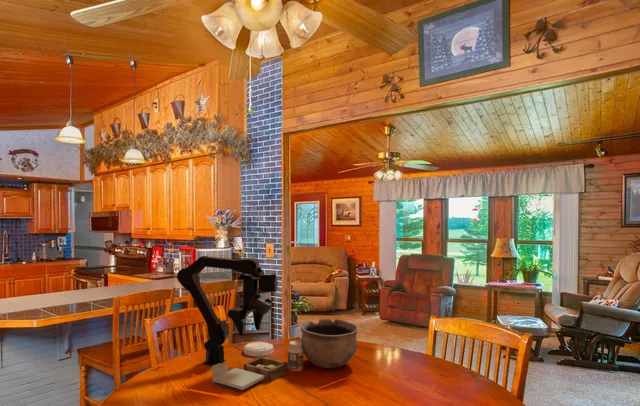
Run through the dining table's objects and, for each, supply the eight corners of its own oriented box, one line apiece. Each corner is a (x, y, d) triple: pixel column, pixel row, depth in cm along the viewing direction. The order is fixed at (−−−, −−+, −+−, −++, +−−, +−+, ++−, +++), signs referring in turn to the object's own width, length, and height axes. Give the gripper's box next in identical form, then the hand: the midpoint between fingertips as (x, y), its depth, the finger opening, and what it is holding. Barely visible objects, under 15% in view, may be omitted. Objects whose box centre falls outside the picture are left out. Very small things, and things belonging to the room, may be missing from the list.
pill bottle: (301, 373, 152) (301, 345, 152) (285, 371, 153) (286, 344, 153) (304, 367, 157) (305, 341, 158) (289, 366, 158) (290, 339, 159)
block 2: (265, 373, 150) (265, 366, 150) (272, 371, 152) (272, 364, 152) (270, 375, 147) (270, 368, 148) (277, 373, 150) (277, 366, 150)
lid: (203, 382, 141) (204, 369, 141) (226, 371, 150) (227, 359, 150) (242, 393, 132) (242, 380, 132) (264, 382, 142) (264, 369, 142)
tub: (243, 375, 148) (243, 364, 148) (261, 367, 157) (261, 356, 157) (270, 383, 142) (270, 371, 142) (287, 373, 151) (287, 362, 151)
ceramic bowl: (345, 353, 174) (345, 317, 175) (367, 372, 154) (367, 331, 154) (293, 358, 167) (294, 320, 168) (309, 378, 147) (310, 335, 147)
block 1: (254, 374, 149) (254, 367, 149) (258, 371, 151) (258, 364, 152) (261, 375, 148) (261, 368, 148) (265, 372, 150) (265, 365, 150)
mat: (210, 385, 140) (210, 383, 140) (231, 375, 149) (231, 373, 149) (237, 393, 134) (237, 391, 134) (257, 382, 142) (257, 380, 142)
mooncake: (238, 353, 173) (238, 344, 173) (262, 347, 181) (262, 339, 181) (254, 361, 164) (254, 351, 164) (279, 354, 172) (279, 345, 173)
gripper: (250, 297, 149) (249, 342, 148) (281, 290, 165) (280, 330, 164) (227, 294, 154) (226, 337, 154) (259, 287, 170) (258, 326, 170)
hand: (249, 332), depth 160 cm, fingers open, 9 cm apart
